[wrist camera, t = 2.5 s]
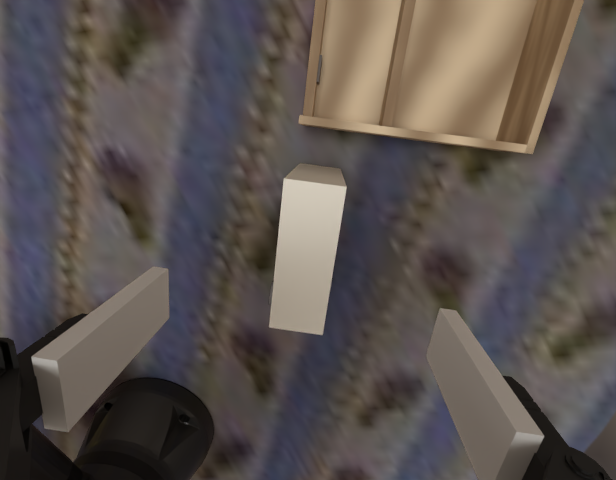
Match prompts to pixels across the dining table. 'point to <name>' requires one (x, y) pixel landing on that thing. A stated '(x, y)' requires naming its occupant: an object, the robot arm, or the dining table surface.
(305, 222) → the plain off-white rectangular block
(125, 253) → the dining table surface
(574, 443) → the dining table surface
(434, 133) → the cabinet carcass
